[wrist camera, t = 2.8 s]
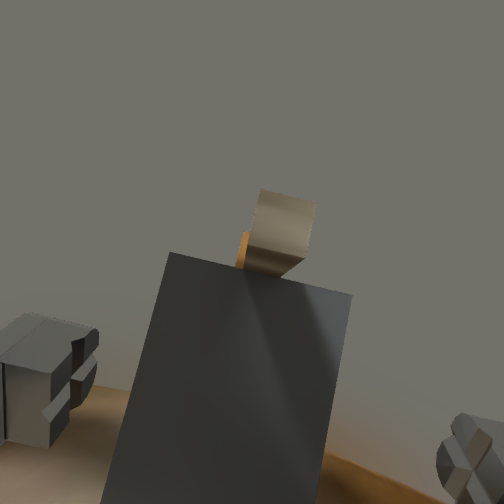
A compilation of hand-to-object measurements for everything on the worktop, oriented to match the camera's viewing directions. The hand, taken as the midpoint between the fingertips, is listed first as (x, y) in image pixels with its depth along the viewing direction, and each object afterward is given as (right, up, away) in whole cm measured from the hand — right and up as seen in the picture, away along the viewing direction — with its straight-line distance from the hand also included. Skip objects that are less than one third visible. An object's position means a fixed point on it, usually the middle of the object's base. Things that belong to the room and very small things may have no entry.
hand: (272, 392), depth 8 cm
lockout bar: (0, +1, +19) cm, 20 cm away
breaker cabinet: (-6, -24, +20) cm, 32 cm away
